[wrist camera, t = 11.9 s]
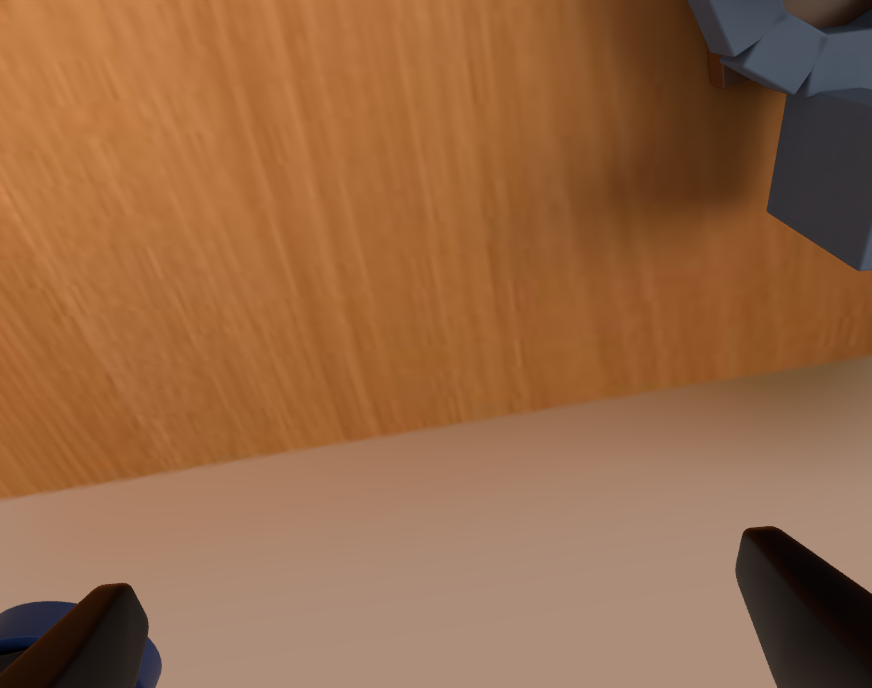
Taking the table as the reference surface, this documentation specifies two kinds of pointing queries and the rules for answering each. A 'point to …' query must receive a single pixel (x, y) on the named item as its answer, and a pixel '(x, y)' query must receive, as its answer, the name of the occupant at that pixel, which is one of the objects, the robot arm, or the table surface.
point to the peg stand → (813, 3)
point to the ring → (808, 115)
